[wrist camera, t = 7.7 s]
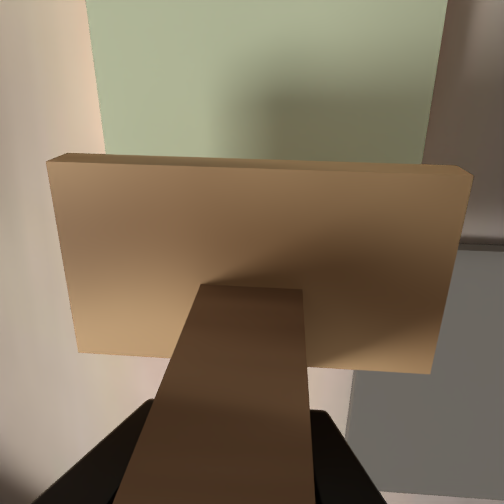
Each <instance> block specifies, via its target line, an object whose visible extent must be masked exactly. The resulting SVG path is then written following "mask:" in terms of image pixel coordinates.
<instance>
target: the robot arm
mask: <svg viewBox="0 0 504 504" xmlns="http://www.w3.org/2000/svg"><path fill="white" fill-rule="evenodd" d="M153 402H154V399H149V400H147V401H145V402H144V403H143V404H142V405H141V406H140V407H139V408H138V409H136V410H135V411H134V412H133V413H132V414H131V415H130V416H129V417H127V418H126V419H125V420H124V421H123V422H122V423H121V424H120V425H119V426H117V427H116V428H115V429H114V430H113V431H112V432H111V433H110V434H108V435H107V436H106V437H105V438H104V439H103V440H102V441H101V442H99V443H98V444H97V445H96V446H95V447H94V448H93V449H92V450H91V451H89V452H88V453H87V454H86V455H85V456H84V457H83V458H82V459H80V460H79V461H78V462H77V463H76V464H75V465H74V466H73V467H71V468H70V469H69V470H68V471H67V472H66V473H65V474H64V475H63V476H61V477H60V478H59V479H58V480H57V481H56V482H55V483H54V484H52V485H51V486H50V487H49V488H48V489H47V490H46V491H45V492H43V493H42V494H41V495H40V496H39V497H38V498H37V499H36V500H35V501H33V502H32V503H31V504H113V501H114V499H115V496H116V494H117V491H118V489H119V486H120V484H121V481H122V479H123V476H124V474H125V471H126V469H127V466H128V464H129V461H130V459H131V456H132V454H133V451H134V449H135V446H136V444H137V441H138V439H139V436H140V434H141V431H142V429H143V426H144V424H145V421H146V419H147V416H148V414H149V411H150V409H151V407H152V404H153ZM310 424H311V440H312V457H313V473H314V489H315V504H387V503H386V501H385V500H384V498H383V497H382V495H381V494H380V492H379V490H378V489H377V487H376V486H375V484H374V483H373V481H372V480H371V478H370V477H369V475H368V474H367V472H366V471H365V469H364V468H363V466H362V464H361V463H360V461H359V460H358V458H357V457H356V455H355V454H354V452H353V451H352V449H351V448H350V446H349V445H348V443H347V441H346V440H345V438H344V437H343V435H342V434H341V432H340V431H339V429H338V428H337V426H336V425H335V423H334V422H333V420H332V419H331V417H330V415H329V414H328V413H327V412H326V411H324V410H311V409H310Z"/></svg>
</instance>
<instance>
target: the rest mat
mask: <svg viewBox="0 0 504 504" xmlns="http://www.w3.org/2000/svg"><path fill="white" fill-rule="evenodd" d="M345 440H346V441H347V443H348V445H349V446H350V448H351V449H352V451H353V452H354V454H355V455H356V457H357V458H358V460H359V461H360V463H361V464H362V466H363V468H364V469H365V471H366V472H367V474H368V475H369V477H370V478H371V480H372V481H373V483H374V484H375V486H376V487H377V489H378V490H379V491H384V492H397V493H411V494H424V495H438V496H451V497H465V498H478V499H492V500H504V245H480V244H459V246H458V250H457V255H456V259H455V264H454V268H453V273H452V277H451V282H450V286H449V291H448V296H447V300H446V305H445V309H444V314H443V318H442V323H441V327H440V332H439V336H438V341H437V345H436V350H435V354H434V359H433V363H432V368H431V373H430V374H416V373H400V372H384V371H367V370H354V373H353V381H352V388H351V396H350V403H349V411H348V419H347V426H346V434H345Z"/></svg>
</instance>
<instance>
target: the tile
mask: <svg viewBox="0 0 504 504" xmlns="http://www.w3.org/2000/svg"><path fill="white" fill-rule="evenodd" d="M85 1H86V8H87V16H88V23H89V31H90V38H91V46H92V53H93V61H94V68H95V76H96V83H97V91H98V98H99V106H100V113H101V121H102V128H103V136H104V143H105V151H106V154H115V155H147V156H178V157H209V158H241V159H272V160H303V161H335V162H366V163H397V164H422V159H423V152H424V146H425V140H426V134H427V127H428V121H429V115H430V108H431V102H432V96H433V90H434V83H435V77H436V71H437V65H438V58H439V52H440V46H441V39H442V33H443V27H444V21H445V14H446V8H447V2H448V0H85Z"/></svg>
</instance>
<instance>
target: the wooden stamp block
mask: <svg viewBox="0 0 504 504" xmlns="http://www.w3.org/2000/svg"><path fill="white" fill-rule="evenodd" d="M46 165H47V171H48V177H49V183H50V189H51V194H52V200H53V206H54V212H55V218H56V224H57V230H58V236H59V241H60V247H61V253H62V259H63V265H64V271H65V277H66V282H67V288H68V294H69V300H70V306H71V312H72V318H73V324H74V329H75V335H76V341H77V347H78V353H94V354H110V355H126V356H142V357H158V358H171V359H170V362H169V364H168V367H167V369H166V372H165V374H164V377H163V379H162V382H161V384H160V387H159V389H158V392H157V394H156V397H155V399H154V402H153V404H152V407H151V409H150V411H149V414H148V416H147V419H146V421H145V424H144V426H143V429H142V431H141V434H140V436H139V439H138V441H137V444H136V446H135V449H134V451H133V454H132V456H131V459H130V461H129V464H128V466H127V469H126V471H125V474H124V476H123V479H122V481H121V484H120V486H119V489H118V491H117V494H116V496H115V499H114V501H113V504H315V489H314V473H313V457H312V440H311V424H310V407H309V391H308V375H307V367H319V368H335V369H351V370H367V371H384V372H400V373H416V374H430V373H431V368H432V363H433V359H434V354H435V350H436V345H437V341H438V336H439V332H440V327H441V323H442V318H443V314H444V309H445V305H446V300H447V296H448V291H449V286H450V282H451V277H452V273H453V268H454V264H455V259H456V255H457V250H458V246H459V241H460V237H461V232H462V228H463V223H464V219H465V214H466V209H467V205H468V200H469V196H470V191H471V187H472V182H473V178H474V176H473V175H472V174H470V173H468V172H467V171H465V170H463V169H462V168H460V167H458V166H457V165H428V164H397V163H366V162H335V161H303V160H272V159H241V158H209V157H178V156H147V155H115V154H84V153H66V154H64V155H61V156H58V157H56V158H53V159H51V160H48V161H46Z"/></svg>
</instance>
